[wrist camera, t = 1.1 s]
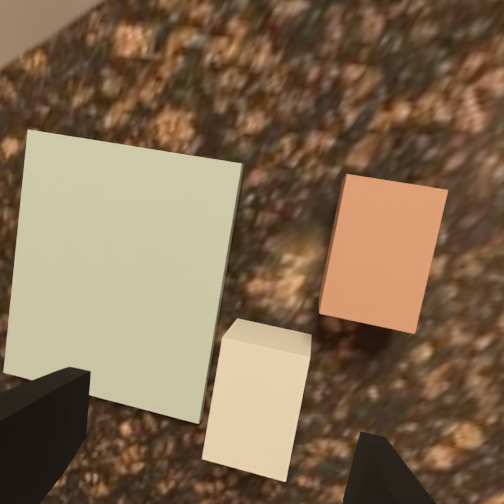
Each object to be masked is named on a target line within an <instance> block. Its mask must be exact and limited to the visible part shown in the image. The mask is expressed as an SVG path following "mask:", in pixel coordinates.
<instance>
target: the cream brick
mask: <svg viewBox="0 0 504 504" xmlns="http://www.w3.org/2000/svg"><path fill="white" fill-rule="evenodd" d="M311 337H312V335H310V334H306V333H301V332H297V331H292V330H287V329H283V328H278V327H274V326H269V325H265V324H260V323H255V322H251V321H246V320H242V319H237V320H236V321H235V322H234V323H233V325H232V326H231V327H230V328H229V330H228V331H227V332H226V334H225V335H224V336H223V337H222V343H221V349H220V355H219V361H218V367H217V373H216V379H215V385H214V390H213V396H212V402H211V408H210V414H209V420H208V426H207V432H206V438H205V444H204V450H203V456H202V459H204V460H207V461H211V462H215V463H218V464H222V465H225V466H229V467H233V468H236V469H240V470H244V471H247V472H251V473H254V474H258V475H262V476H265V477H269V478H273V479H276V480H280V481H283V482H286V478H287V473H288V468H289V463H290V458H291V453H292V448H293V443H294V438H295V432H296V427H297V422H298V417H299V412H300V407H301V402H302V397H303V392H304V387H305V382H306V377H307V372H308V367H309V362H310V355H311Z"/></svg>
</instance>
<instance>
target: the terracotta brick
mask: <svg viewBox="0 0 504 504" xmlns="http://www.w3.org/2000/svg"><path fill="white" fill-rule="evenodd" d="M447 193H448V190H444V189H438V188H432V187H425V186H419V185H413V184H406V183H400V182H394V181H387V180H381V179H374V178H368V177H362V176H355V175H349V174H347V175H346V176H345V177H344V179H343V180H342V184H341V189H340V194H339V199H338V204H337V209H336V214H335V219H334V224H333V229H332V234H331V239H330V244H329V249H328V255H327V260H326V265H325V270H324V275H323V280H322V285H321V290H320V295H319V314H323V315H328V316H333V317H337V318H342V319H347V320H352V321H356V322H361V323H366V324H371V325H375V326H380V327H385V328H390V329H394V330H399V331H404V332H408V333H413V334H415V331H416V327H417V322H418V318H419V314H420V309H421V305H422V301H423V296H424V292H425V288H426V283H427V279H428V275H429V270H430V266H431V262H432V257H433V253H434V249H435V244H436V240H437V236H438V231H439V227H440V223H441V219H442V214H443V210H444V206H445V201H446V197H447Z"/></svg>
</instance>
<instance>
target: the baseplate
mask: <svg viewBox="0 0 504 504" xmlns="http://www.w3.org/2000/svg"><path fill="white" fill-rule="evenodd" d="M243 169H244V165H243V164H240V163H234V162H228V161H222V160H215V159H209V158H203V157H197V156H190V155H184V154H178V153H171V152H165V151H159V150H153V149H146V148H140V147H134V146H127V145H121V144H115V143H109V142H102V141H96V140H90V139H84V138H77V137H71V136H65V135H58V134H52V133H46V132H40V131H33V130H28V133H27V143H26V153H25V163H24V173H23V183H22V193H21V203H20V213H19V223H18V233H17V243H16V253H15V263H14V273H13V283H12V293H11V303H10V313H9V323H8V333H7V343H6V353H5V363H4V373H7V374H11V375H15V376H18V377H22V378H26V379H30V380H35V379H37V378H40V377H42V376H45V375H47V374H50V373H52V372H55V371H58V370H60V369H63V368H67V367H74V368H79V369H83V370H88V371H91V377H90V390H89V395H91V396H94V397H98V398H102V399H106V400H109V401H113V402H117V403H121V404H125V405H128V406H132V407H136V408H140V409H144V410H147V411H151V412H155V413H159V414H163V415H166V416H170V417H174V418H178V419H182V420H185V421H189V422H193V423H197V424H199V423H200V421H201V419H202V415H203V409H204V403H205V397H206V391H207V385H208V379H209V373H210V367H211V361H212V355H213V349H214V343H215V337H216V331H217V325H218V319H219V313H220V307H221V301H222V295H223V289H224V283H225V277H226V271H227V265H228V259H229V253H230V247H231V241H232V235H233V229H234V223H235V217H236V211H237V205H238V199H239V193H240V187H241V181H242V175H243Z"/></svg>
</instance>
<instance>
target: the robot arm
mask: <svg viewBox="0 0 504 504" xmlns="http://www.w3.org/2000/svg"><path fill="white" fill-rule="evenodd" d="M90 377H91V371H88V370H83V369H79V368H74V367H67V368H63V369H60V370H58V371H55V372H52V373H50V374H47V375H45V376H42V377H40V378H37V379H35V380H32V381H30V382H27V383H25V384H22V385H20V386H17V387H15V388H12V389H10V390H7V391H5V392H2V393H0V504H39V503H40V502H41V501H42V500H43V498H44V497H45V496H46V495H47V493H48V492H49V491H50V490H51V488H52V487H53V486H54V485H55V483H56V482H57V481H58V479H59V478H60V477H61V476H62V474H63V473H64V471H65V470H66V468H67V467H68V465H69V464H70V462H71V460H72V459H73V457H74V456H75V454H76V452H77V451H78V449H79V447H80V446H81V444H82V443H83V441H84V439H85V438H86V428H87V415H88V403H89V390H90ZM343 504H436V503H435V502H434V500H433V499H432V498H431V497H430V495H429V494H428V493H427V492H426V490H425V489H424V488H423V486H422V485H421V484H420V482H419V481H418V480H417V479H416V477H415V476H414V475H413V473H412V472H411V471H410V469H409V468H408V467H407V465H406V464H405V463H404V461H403V460H402V459H401V457H400V456H399V455H398V453H397V452H396V451H395V449H394V448H393V447H392V445H391V444H390V443H389V441H388V440H387V439H386V438H385V437H382V436H378V435H373V434H369V433H364V432H360V436H359V440H358V444H357V447H356V451H355V455H354V459H353V463H352V467H351V471H350V474H349V478H348V482H347V486H346V490H345V494H344V498H343Z"/></svg>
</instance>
